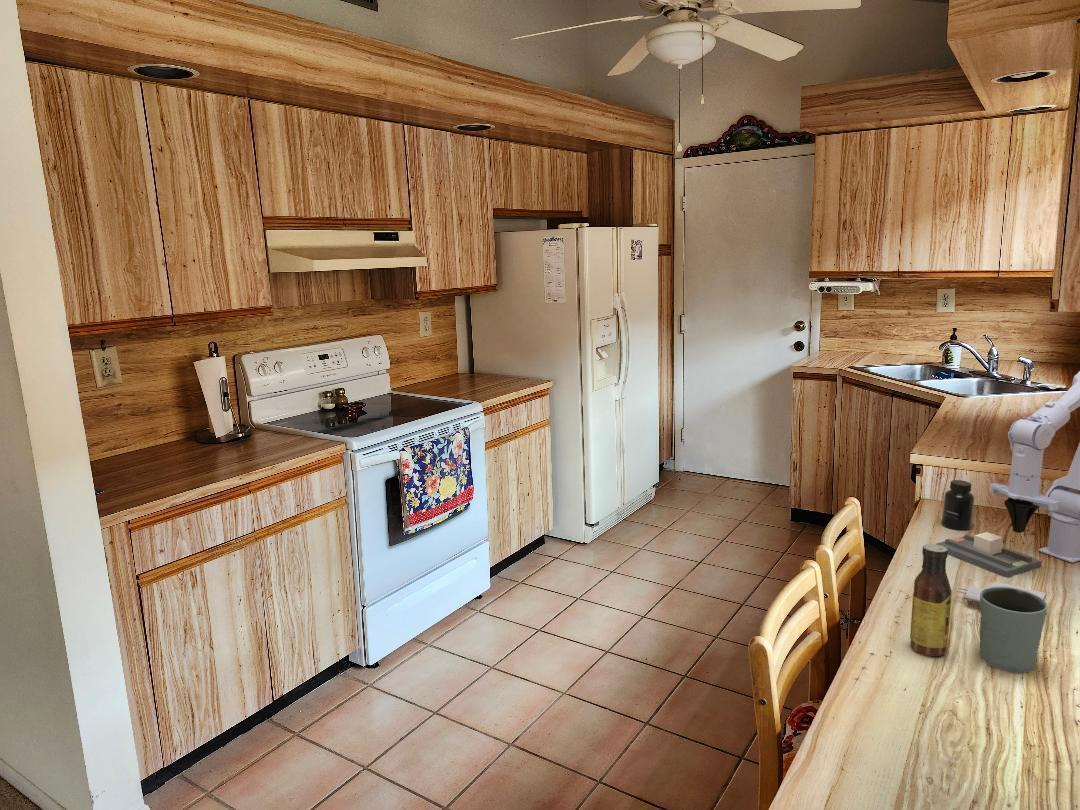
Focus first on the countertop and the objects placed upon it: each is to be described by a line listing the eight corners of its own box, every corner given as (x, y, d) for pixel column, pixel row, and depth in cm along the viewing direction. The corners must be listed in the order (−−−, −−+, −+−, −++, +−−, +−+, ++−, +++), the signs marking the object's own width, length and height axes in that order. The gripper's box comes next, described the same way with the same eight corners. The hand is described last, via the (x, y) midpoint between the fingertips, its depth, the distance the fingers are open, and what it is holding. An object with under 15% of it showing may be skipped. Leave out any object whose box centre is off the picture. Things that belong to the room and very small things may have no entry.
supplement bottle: (944, 529, 196) (948, 485, 194) (939, 520, 203) (943, 477, 200) (974, 531, 194) (978, 487, 192) (967, 522, 201) (972, 479, 198)
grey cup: (1038, 654, 137) (1046, 593, 135) (1041, 682, 129) (1049, 617, 126) (974, 640, 142) (980, 581, 140) (973, 666, 134) (979, 604, 131)
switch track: (968, 540, 189) (969, 531, 188) (1041, 567, 173) (1042, 557, 172) (935, 549, 184) (936, 539, 184) (1006, 577, 168) (1007, 567, 168)
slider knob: (985, 546, 181) (987, 532, 180) (1001, 552, 177) (1003, 537, 176) (973, 549, 179) (974, 535, 178) (988, 555, 175) (990, 541, 175)
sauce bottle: (951, 659, 136) (961, 556, 132) (914, 656, 138) (923, 554, 133) (940, 641, 143) (949, 542, 138) (904, 638, 144) (913, 540, 140)
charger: (961, 592, 162) (1044, 612, 153) (950, 607, 156) (1036, 630, 146) (963, 571, 161) (1047, 591, 152) (952, 586, 155) (1039, 608, 145)
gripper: (982, 467, 173) (976, 523, 175) (1046, 485, 160) (1039, 545, 162) (1003, 463, 175) (997, 518, 178) (1067, 480, 162) (1060, 539, 165)
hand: (1018, 531), depth 171 cm, fingers closed
